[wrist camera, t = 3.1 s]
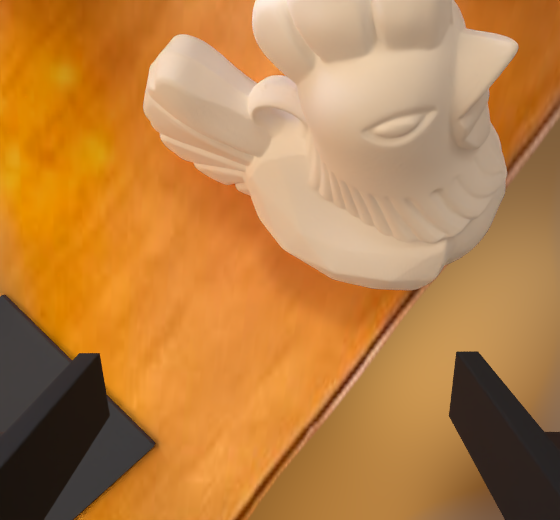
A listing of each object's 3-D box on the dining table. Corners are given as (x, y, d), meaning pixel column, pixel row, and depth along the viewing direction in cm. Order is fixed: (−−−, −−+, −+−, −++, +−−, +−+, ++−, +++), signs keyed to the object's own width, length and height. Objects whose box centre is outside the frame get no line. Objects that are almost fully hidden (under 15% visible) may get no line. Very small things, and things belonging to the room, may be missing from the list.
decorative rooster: (533, 171, 35) (612, -243, 14) (451, 342, 32) (398, 157, 11) (291, 118, 48) (144, -135, 27) (221, 238, 45) (0, 62, 24)
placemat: (-154, 438, 39) (-160, 441, 39) (5, 294, 39) (1, 295, 39) (5, 579, 41) (1, 584, 41) (155, 442, 41) (154, 446, 41)
